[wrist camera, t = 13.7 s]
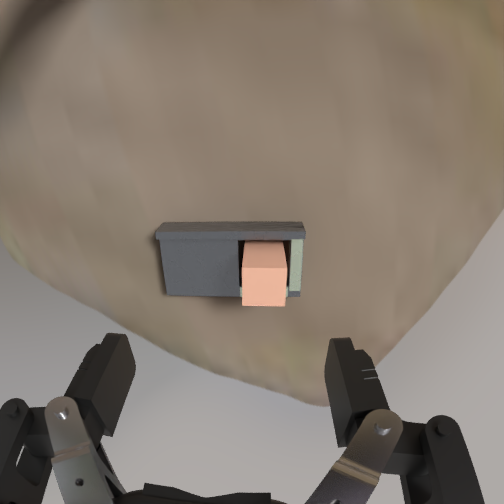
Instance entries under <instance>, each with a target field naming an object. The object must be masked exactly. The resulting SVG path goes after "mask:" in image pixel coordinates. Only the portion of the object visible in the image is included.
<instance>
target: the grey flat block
mask: <svg viewBox="0 0 504 504" xmlns="http://www.w3.org/2000/svg"><path fill="white" fill-rule="evenodd" d="M155 234H156V239H159V241H160V249H161V256H162V264H163V271H164V278H165V284H166V291H167V295H182V296H234V297H242V278H240V252H239V240H289V257H288V278H287V282H286V297H300V290H301V276H302V260H303V243H304V239H305V234H306V231H305V229H304V226H303V223H302V222H168V223H163V224H162V225H161V226H160V227H159V228H158V229H157V231H156V232H155Z"/></svg>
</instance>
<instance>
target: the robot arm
mask: <svg viewBox="0 0 504 504" xmlns="http://www.w3.org/2000/svg"><path fill="white" fill-rule="evenodd" d="M135 370H136V365H135V360H134V357H133V354H132V351H131V347H130V344H129V341H128V338H127V336H126V335H125V334H117V333H107V334H106V336H105V338H104V339H103V341H102V343H101V344H96V345H95V346H94V347H92V348H91V349H90V350H89V351H88V352H87V354H86V356H85V357H84V359H83V362H82V363H81V365H80V366H79V370H77V372H76V374H75V376H74V377H73V379H72V381H71V383H70V385H69V387H68V389H67V391H66V393H65V395H64V396H63V397H57V398H55V399H53V400H51V401H50V402H49V403H48V405H47V406H46V407H33V408H29V407H28V405H27V404H26V403H25V401H24V400H22V399H19V398H14V399H10V400H8V401H7V402H6V403H4V404H3V406H2V407H1V409H0V504H41V503H42V500H43V496H44V492H45V489H46V486H47V483H48V479H49V476H50V473H51V470H52V467H53V470H54V473H55V476H56V479H57V482H58V485H59V488H60V491H61V494H62V497H63V500H64V502H65V504H286V503H284V502H280V501H277V500H272V499H271V493H234V494H228V495H222V496H216V497H209V498H205V497H200V496H197V495H194V494H191V493H188V492H185V491H182V490H180V489H177V488H174V487H167V486H161V485H154V484H148V483H145V484H144V488H143V490H136V491H131V492H128V493H127V492H126V491H125V489H124V488H123V486H122V484H121V483H120V481H119V480H118V478H117V476H116V474H115V472H114V470H113V468H112V465H111V463H110V461H109V459H108V457H107V454H106V452H105V450H104V448H103V445H102V443H101V442H100V441H101V438H102V435H106V436H110V437H113V434H114V431H115V428H116V425H117V422H118V419H119V416H120V414H121V411H122V408H123V405H124V402H125V400H126V397H127V394H128V392H129V389H130V386H131V384H132V381H133V378H134V375H135ZM325 383H326V388H327V392H328V397H329V402H330V407H331V413H332V418H333V423H334V428H335V434H336V439H337V444H338V447H347V448H346V450H345V451H344V453H343V454H342V456H341V457H340V459H339V460H338V461H336V462H335V464H334V465H333V466H332V468H331V469H330V470H329V472H328V473H327V475H326V476H325V477H324V479H323V480H322V481H321V483H320V484H319V486H318V487H317V488H316V490H315V491H314V492H313V494H312V495H311V496H310V497H309V499H308V500H307V501H306V503H305V504H366V503H367V501H368V499H369V498H370V496H371V494H372V492H373V491H374V489H375V487H376V486H377V484H378V482H379V477H380V475H381V473H386V474H398V475H400V480H401V485H402V490H403V495H404V501H405V504H485V503H484V499H483V496H482V493H481V489H480V486H479V483H478V479H477V476H476V473H475V470H474V467H473V464H472V461H471V458H470V455H469V452H468V449H467V446H466V444H465V441H464V438H463V435H462V433H461V430H460V427H459V425H458V424H457V423H456V421H455V420H453V419H452V418H450V417H448V416H444V415H438V416H435V417H433V418H431V419H430V420H429V421H428V422H427V424H423V423H412V422H406V421H403V420H401V418H400V417H399V416H398V415H397V414H396V413H394V412H392V411H391V410H390V408H389V406H388V403H387V400H386V397H385V394H384V392H383V389H382V386H381V383H380V380H379V379H378V375H377V373H376V370H375V367H374V364H373V362H372V359H371V357H370V356H369V355H368V354H367V353H366V352H365V351H364V350H355V349H354V346H353V344H352V341H351V339H350V338H349V337H348V338H331V339H330V342H329V347H328V353H327V358H326V363H325ZM22 446H24V449H23V452H22V454H21V457H20V459H19V462H18V465H17V467H16V462H17V459H18V456H19V454H20V451H21V449H22Z"/></svg>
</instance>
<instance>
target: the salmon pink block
mask: <svg viewBox="0 0 504 504" xmlns="http://www.w3.org/2000/svg"><path fill="white" fill-rule="evenodd" d="M286 282H287V264H286V258H285V252H284V246H283V240H245V246H244V254H243V263H242V306H285V297H286Z"/></svg>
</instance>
